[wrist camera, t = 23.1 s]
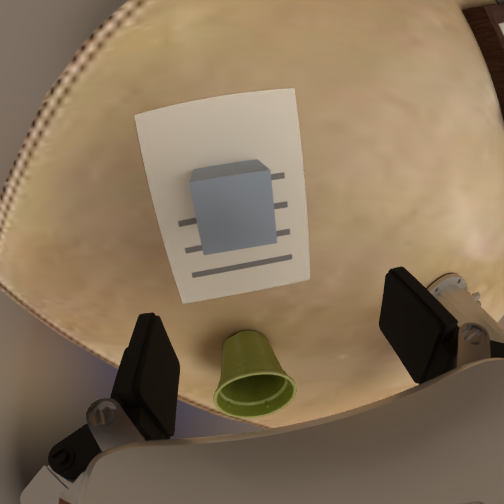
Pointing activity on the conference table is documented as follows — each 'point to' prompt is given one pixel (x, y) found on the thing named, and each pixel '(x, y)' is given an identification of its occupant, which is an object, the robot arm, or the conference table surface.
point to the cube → (233, 206)
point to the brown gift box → (490, 41)
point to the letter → (217, 153)
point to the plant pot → (252, 378)
